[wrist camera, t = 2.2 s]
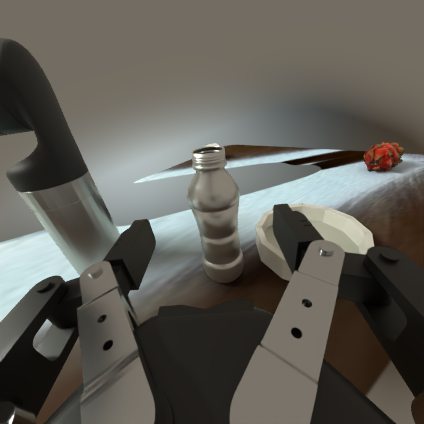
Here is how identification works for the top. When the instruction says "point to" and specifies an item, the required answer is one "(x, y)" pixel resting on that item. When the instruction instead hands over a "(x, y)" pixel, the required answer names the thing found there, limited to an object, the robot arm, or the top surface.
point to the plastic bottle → (216, 214)
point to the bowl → (324, 223)
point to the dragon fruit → (383, 156)
